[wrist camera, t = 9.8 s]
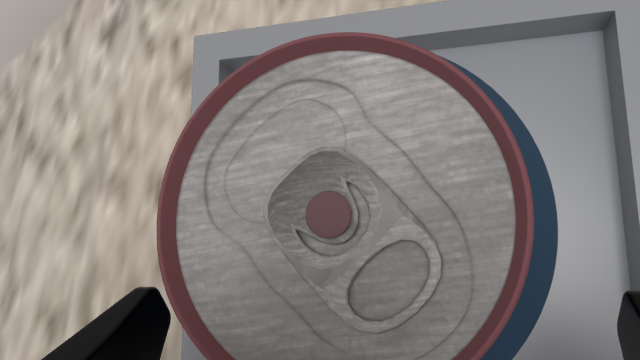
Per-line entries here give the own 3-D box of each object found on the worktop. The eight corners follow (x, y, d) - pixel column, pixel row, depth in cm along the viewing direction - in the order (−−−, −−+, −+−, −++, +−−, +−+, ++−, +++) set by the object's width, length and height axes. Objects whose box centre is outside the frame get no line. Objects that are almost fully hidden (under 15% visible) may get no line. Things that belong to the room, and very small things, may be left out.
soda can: (283, 238, 20) (52, 205, 9) (409, 117, 19) (341, -90, 8) (402, 379, 18) (306, 583, 7) (547, 249, 17) (718, 224, 6)
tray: (685, 495, 16) (724, 535, 14) (209, 447, 20) (176, 471, 18) (627, 8, 19) (651, -29, 17) (221, 59, 23) (194, 36, 21)
